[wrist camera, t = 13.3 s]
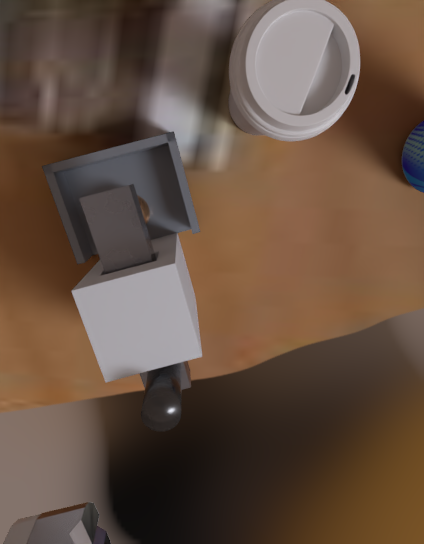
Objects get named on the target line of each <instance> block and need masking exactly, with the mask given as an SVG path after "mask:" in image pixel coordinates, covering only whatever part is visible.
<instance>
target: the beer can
mask: <svg viewBox="0 0 424 544" xmlns="http://www.w3.org/2000/svg"><path fill="white" fill-rule="evenodd" d="M402 168H403V172H404V175H405V177H406V179H407V180H408V182H409V183H410V184H411V185H412V186H413V187H414V188H415V189H417V190H419V191H421V192H423V193H424V121H422V122H421V123H420V124H418V125H417V126H416V127H415V128H414V130H413V131H412V132H411V133H410V135H409V137H408V138H407V140H406V143H405V145H404V148H403V153H402Z"/></svg>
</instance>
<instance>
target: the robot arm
mask: <svg viewBox="0 0 424 544" xmlns="http://www.w3.org/2000/svg"><path fill="white" fill-rule="evenodd" d="M98 518H99V513H98V511H97V509H96V507H95V505H94V503H91V502H87V503H83V504H79V505H74V506H71V507H67V508H62V509H58V510H54V511H49V512H45V513H42V514H40V515H35V516H31V517H26V518H22V519H18V520H17V521H16V522H15V523H14V524H13V525H12V526H11V528H10V530H9V532H8V534H7V537H6V538H5V541H4V543H3V544H111V543H110V539H109V537H108V534H107V532H106V531H105V530H104V529H102V528H100V527H98V526H97V524H98Z"/></svg>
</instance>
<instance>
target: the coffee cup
mask: <svg viewBox="0 0 424 544" xmlns="http://www.w3.org/2000/svg"><path fill="white" fill-rule="evenodd" d="M359 73H360V50H359V44H358V40H357V37H356V34H355V31H354V29H353V27H352V25H351V23H350V22H349V20H348V19H347V17H346V16H345V15H344V14H343V13H342V12H341V11H340V10H339V9H338V8H337V7H335V6H334V5H332V4H331V3H329V2H327V1H325V0H272V1H270V2H268V3H267V4H265V5H263V6H262V7H260V8H259V9H258V10H256V11H255V12H254V13H253V14H252V15H251V16H250V17H249V18H248V19H247V21H246V22H245V23H244V25H243V26H242V28H241V29H240V31H239V33H238V35H237V37H236V39H235V42H234V44H233V47H232V51H231V55H230V62H229V81H230V87H231V89H230V94H229V111H230V114H231V117H232V119H233V121H234V122H235V124H236V125H237V126H238V127H239V128H240V129H241V130H243V131H244V132H246V133H249V134H252V135H266V136H268V137H271V138H274V139H277V140H282V141H300V140H305V139H309V138H312V137H314V136H317V135H319V134H320V133H322V132H324V131H325V130H327V129H328V128H329V127H331V126H332V125H333V124H334V123H335V122H336V121H337V120H338V119H339V118H340V117H341V115H342V114H343V113H344V111H345V110H346V108H347V107H348V105H349V104H350V102H351V100H352V98H353V95H354V93H355V90H356V87H357V83H358V79H359Z"/></svg>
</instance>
